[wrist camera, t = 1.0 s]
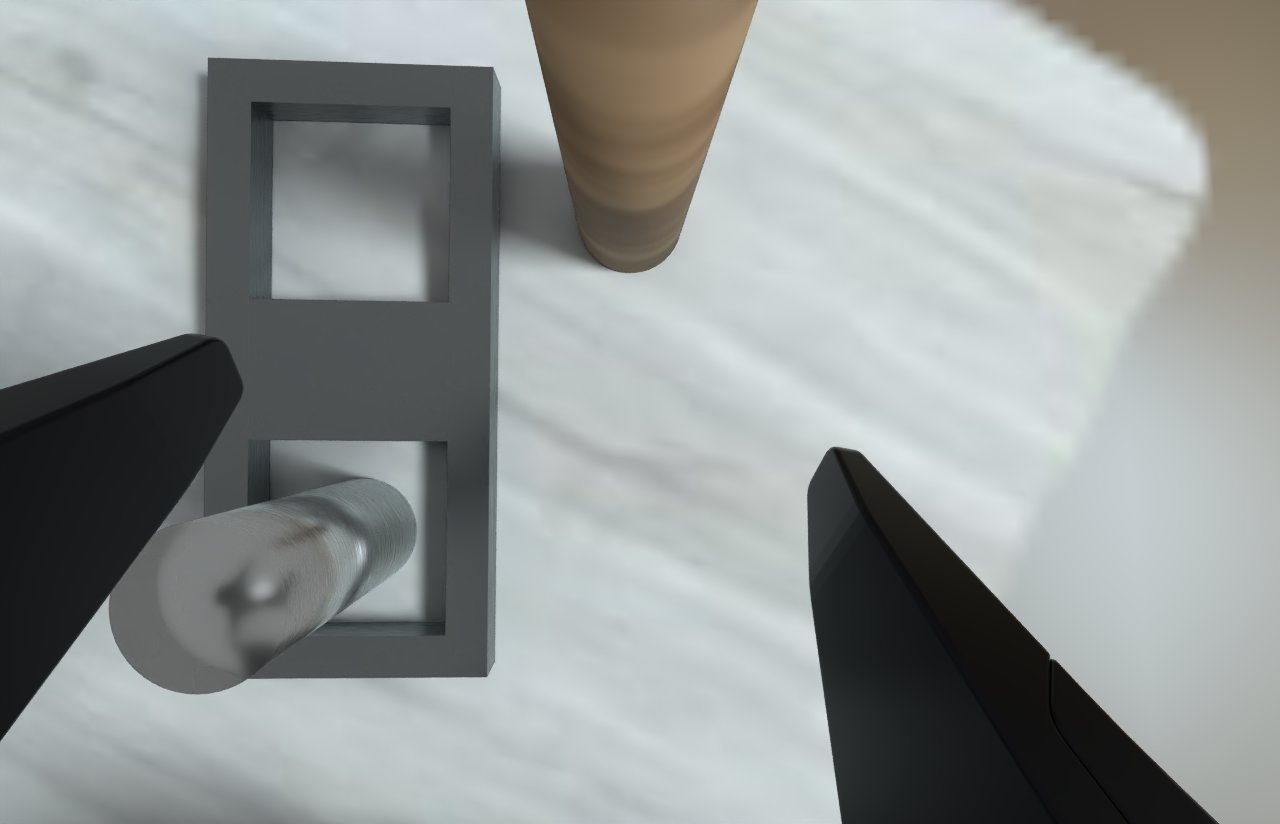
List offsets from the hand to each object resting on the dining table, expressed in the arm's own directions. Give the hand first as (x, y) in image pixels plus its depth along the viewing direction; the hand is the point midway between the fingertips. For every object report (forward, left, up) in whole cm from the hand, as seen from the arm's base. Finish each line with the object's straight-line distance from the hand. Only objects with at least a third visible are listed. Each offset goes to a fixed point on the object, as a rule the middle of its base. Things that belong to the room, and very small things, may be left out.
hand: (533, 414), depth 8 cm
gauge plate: (+1, +8, -13) cm, 15 cm away
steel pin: (-5, +8, -13) cm, 16 cm away
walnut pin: (+7, -2, -13) cm, 15 cm away
